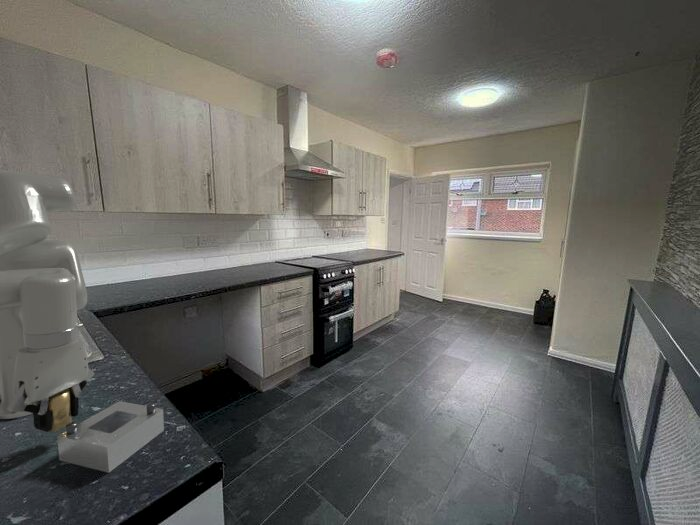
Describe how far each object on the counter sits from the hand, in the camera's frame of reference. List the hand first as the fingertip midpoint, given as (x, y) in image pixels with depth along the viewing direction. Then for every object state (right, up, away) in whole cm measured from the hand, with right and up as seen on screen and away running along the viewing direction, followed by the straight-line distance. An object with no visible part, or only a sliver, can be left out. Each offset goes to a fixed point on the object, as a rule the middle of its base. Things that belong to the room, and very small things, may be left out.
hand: (57, 421), depth 60 cm
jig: (+12, -5, 0) cm, 13 cm away
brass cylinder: (0, -1, 0) cm, 1 cm away
